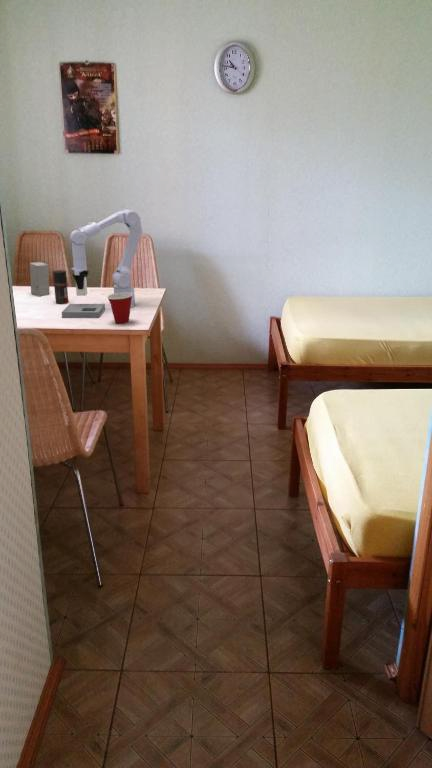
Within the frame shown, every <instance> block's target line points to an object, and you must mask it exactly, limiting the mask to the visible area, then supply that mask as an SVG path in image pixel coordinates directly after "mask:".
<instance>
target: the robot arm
mask: <svg viewBox="0 0 432 768" xmlns="http://www.w3.org/2000/svg"><path fill="white" fill-rule="evenodd" d="M117 223H118V224H120V223H121V224H124V225H125V226H126V227H127V230H128V231H129V235H128V238H127V241H126V244H125V247H124V250H123V253H122V256H121V260H120V262H119V265H118V266H117V267H116V270H115V271H114V273H112V276H111V280H112V282H113V283H114V284H113V294H115V293H124V292H127V293H132V294H133V295H132V299H131V307H130V308H134V306H135V304H136V301H135V300H136V298H135V297H136V296H135V287H134V286H130V283H131V274H132V273H131V267H132V265H133V262H134V259H135V255H136V252H137V249H138V246H139V242H140V240H141V238H142V233H143V229H142V228H143V227H142V224H141V216H140V215H139V213H138V212H137V211H135V210H131V209H129V208H124V209H122V210H119V211H116V212H115V213H113V214H111V215H110V216H108V217H105V218H104V219H102V220H101V221H99V222H95V221H93V222H91V221H89V222H88V223H87V225H85V226H83V227H79V228H78V229H76V230H72V232H71V233H70V236H69V239H70V241H71V247H72V248H71V250H72V252H71V253H72V263H73V267H71V269H70V270H72V271H74V273H72V277H73V279H74V280H75V285H76V284H77V287H78V289H83V287H84V278H85V276H86V280H87V278H88V275H89V272H90V271H89V270H88V267H87V253H86V246H85V245H86V242H87V241H89V240H91V239H92V238H94V237H96V236H98V235H100V234H101V231H102V230H104V229H106V228H109V227H110V226H112V225H114V224H117Z"/></svg>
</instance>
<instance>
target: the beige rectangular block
mask: <svg viewBox="0 0 432 768" xmlns="http://www.w3.org/2000/svg"><path fill="white" fill-rule="evenodd" d="M87 284H88V283H87V279H86V276H85V278H84V287H83V289H78V287H77V284H76V283H75V291H76V296H78V297H79V296H80V297H81V296H82V297H83V296H84V297H85V296H87V295H88V285H87Z"/></svg>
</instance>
